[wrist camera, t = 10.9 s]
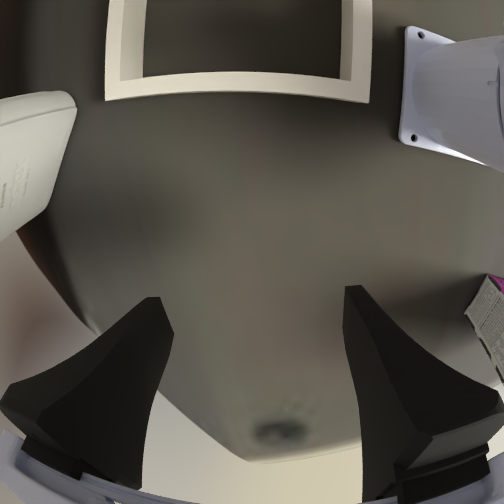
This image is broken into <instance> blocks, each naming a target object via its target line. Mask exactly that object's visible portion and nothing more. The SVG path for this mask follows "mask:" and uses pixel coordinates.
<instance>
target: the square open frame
mask: <svg viewBox="0 0 504 504" xmlns="http://www.w3.org/2000/svg"><path fill="white" fill-rule="evenodd" d="M146 4H147V0H110V3H109V12H108V23H107V36H106V55H105V101H109V100H119V99H130V98H138V97H147V96H156V95H168V94H182V93H204V92H254V93H276V94H290V95H302V96H311V97H320V98H328V99H336V100H343V101H349V102H357V103H369V95H370V80H371V60H372V0H342V33H341V63H340V80H339V79H333V78H325V77H317V76H308V75H298V74H285V73H269V72H203V73H186V74H174V75H163V76H154V77H146V78H143V48H144V30H145V16H146Z"/></svg>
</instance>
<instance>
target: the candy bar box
mask: <svg viewBox="0 0 504 504" xmlns="http://www.w3.org/2000/svg"><path fill="white" fill-rule="evenodd" d="M464 315H465V316H466V318H467V319H468V321H469V322H470V324H471V326H472V328H473V329H474V331H475V333H476V335H477V336H478V338H479V340H480V341H481V343H482V345H483V347H484V348H485V350H486V352H487V354H488V355H489V357H490V359H491V361H492V363H493V365H494V367H495V369H496V371H497V373H498V375H499V377H500V379H501V381H502V383H503V385H504V279H501V278H498V277H495V276H492V275H489V274H488V275H486V277H485V278H484V280H483V282H482V283H481V285H480V287H479V289H478V291H477V293H476V294H475V296H474V298H473V300H472V301H471V303H470V304H469V306H468V307H467V309H466V311H465V312H464Z"/></svg>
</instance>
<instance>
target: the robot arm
mask: <svg viewBox="0 0 504 504" xmlns="http://www.w3.org/2000/svg"><path fill="white" fill-rule="evenodd" d="M502 25H503V28H504V22H503V24H502ZM418 32H419V33H420V34H421V35H422V39H421V38H419V37H418ZM413 134H414V135H415V140H414V141H412V140H411V136H412V135H413ZM398 135H399V140H400V141H401V142H402V143H404V144H407V145H412V146H416V147H421V148H425V149H429V150H433V151H437V152H441V153H445V154H449V155H452V156H456V157H460V158H463V159H467V160H470V161H473V162H477V163H480V164H483V165H486V166H489V167H491V168H493V169H495V170H497V171H499V172H501V173H503V174H504V35H500V36H492V37H484V38H478V39H472V40H466V41H460V42H454V41H452V40H450V39H447V38H445V37H442V36H440V35H437V34H434V33H432V32H429V31H426V30H423V29H421V28H418V27H415V26H409V27H407V28H406V29H405V59H404V81H403V95H402V107H401V117H400V126H399V134H398ZM342 328H343V335H344V343H345V350H346V354H347V358H348V362H349V366H350V370H351V374H352V378H353V382H354V386H355V391H356V395H357V400H358V406H359V414H360V425H361V438H362V458H363V493H362V503H359V504H504V452H503V453H500V454H498V455H497V456H495V457H493V458H491V459H490V460H488V461H487V458H486V454H487V453H488V452H489V447H488V443H487V442H488V441H489V440H490V439H491V438H492V437H493V435H495V434H496V433H497V432H498V431H499V429H501V428H502V426H503V425H504V403H503V401H502V399H501V397H500V395H499V393H498V391H497V390H494V389H492V388H490V387H488V386H485V385H483V384H481V383H479V382H476V381H474V380H472V379H470V378H468V377H467V376H465V375H463V374H461V373H459V372H458V371H456V370H454V369H453V368H451V367H449V366H448V365H446V364H445V363H443V362H442V361H440V360H439V359H437V358H436V357H434V356H433V355H432V354H430V353H429V352H427V351H426V350H425V349H424V348H423V347H421V346H420V345H419V344H418V343H416V342H415V341H414V340H413V339H412V338H411V337H409V336H408V335H407V334H406V333H405V332H404V331H403V330H402V329H401V328H400V327H399V326H398V325H397V324H396V323H395V322H394V321H393V320H392V319H391V318H390V317H389V316H388V315H387V314H386V313H385V312H384V310H383V309H382V308H381V307H380V306H379V305H378V304H377V303H376V301H375V300H374V299H373V298H372V297H371V296H370V294H369V293H368V292H367V291H366V290H365V289H364V287H363V286H362V285H355V286H345V297H344V312H343V326H342ZM173 337H174V332H173V330H172V327H171V325H170V322H169V320H168V317H167V315H166V312H165V310H164V307H163V304H162V302H161V299H160V297H147V298H145V299H144V300H142V301H141V302H140V303H139V304H137V305H136V306H135V307H134V308H133V309H131V310H130V311H129V312H128V313H127V314H126V315H125V316H123V317H122V318H121V319H120V320H119V321H118V322H116V323H115V324H114V325H113V326H112V327H111V328H109V329H108V330H107V331H106V332H104V333H103V334H102V335H101V336H99V337H98V338H97V339H96V340H95V341H93V342H92V343H91V344H89V345H88V346H87V347H85V348H84V349H82V350H81V351H79V352H78V353H76V354H75V355H73V356H72V357H70V358H69V359H67V360H65V361H63V362H61V363H60V364H58V365H56V366H54V367H53V368H51V369H48V370H46V371H44V372H42V373H40V374H38V375H35V376H33V377H30V378H28V379H25V380H22V381H19V382H16V383H13V384H11V385H10V386H9V387H8V389H7V390H6V392H5V393H4V395H3V397H2V398H1V400H0V410H1V412H2V413H3V414H4V415H5V416H6V417H7V418H8V419H9V420H10V421H11V422H12V423H13V424H14V425H15V426H16V427H17V428H19V429H20V430H21V431H22V432H23V433H24V434H25V435H26V439H25V440H23V439H22V438H20V437H19V436H17V435H15V434H14V433H12V432H11V431H9V430H7V429H4V431H3V433H2V435H1V437H0V482H1V483H2V484H3V485H5V486H6V487H7V488H8V489H9V490H11V491H12V492H13V493H14V494H15V495H16V496H17V497H19V498H20V499H21V500H22V501H23V502H25V503H26V504H115V503H114V501H115V502H118V503H121V504H198V503H192V502H186V501H181V500H175V499H171V498H166V497H161V496H157V495H153V494H149V493H145V492H141V491H138V490H139V489H140V488H142V464H143V453H144V444H145V438H146V431H147V425H148V420H149V415H150V411H151V407H152V403H153V400H154V396H155V394H156V391H157V388H158V386H159V383H160V380H161V377H162V375H163V372H164V369H165V366H166V364H167V361H168V358H169V355H170V351H171V347H172V342H173Z"/></svg>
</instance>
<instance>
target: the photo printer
mask: <svg viewBox="0 0 504 504" xmlns="http://www.w3.org/2000/svg"><path fill="white" fill-rule="evenodd" d="M76 113H77V108H76V107H75V102H74V100H73V98H72V97H71V96H70V95H69V94H68V93H66V92H64V91H52V92H49V91H43V92H36V93H30V94H25V95H20V96H15V97H10V98H5V99H1V100H0V242H2V241H3V240H4V239H6V238H7V237H8V236H9V235H11V234H12V233H13V232H15V231H16V230H17V229H19V228H20V227H21V226H23V225H24V224H25V223H27V222H28V221H30V220H31V219H32V218H34V217H35V216H36V215H38V214H39V213H41V212H42V211H43V210H44V209H45V208H46V207H47V205H48V203H49V200H50V198H51V195H52V191H53V188H54V185H55V181H56V178H57V174H58V171H59V168H60V164H61V161H62V158H63V155H64V152H65V149H66V145H67V142H68V139H69V136H70V133H71V130H72V127H73V124H74V121H75V117H76Z"/></svg>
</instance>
